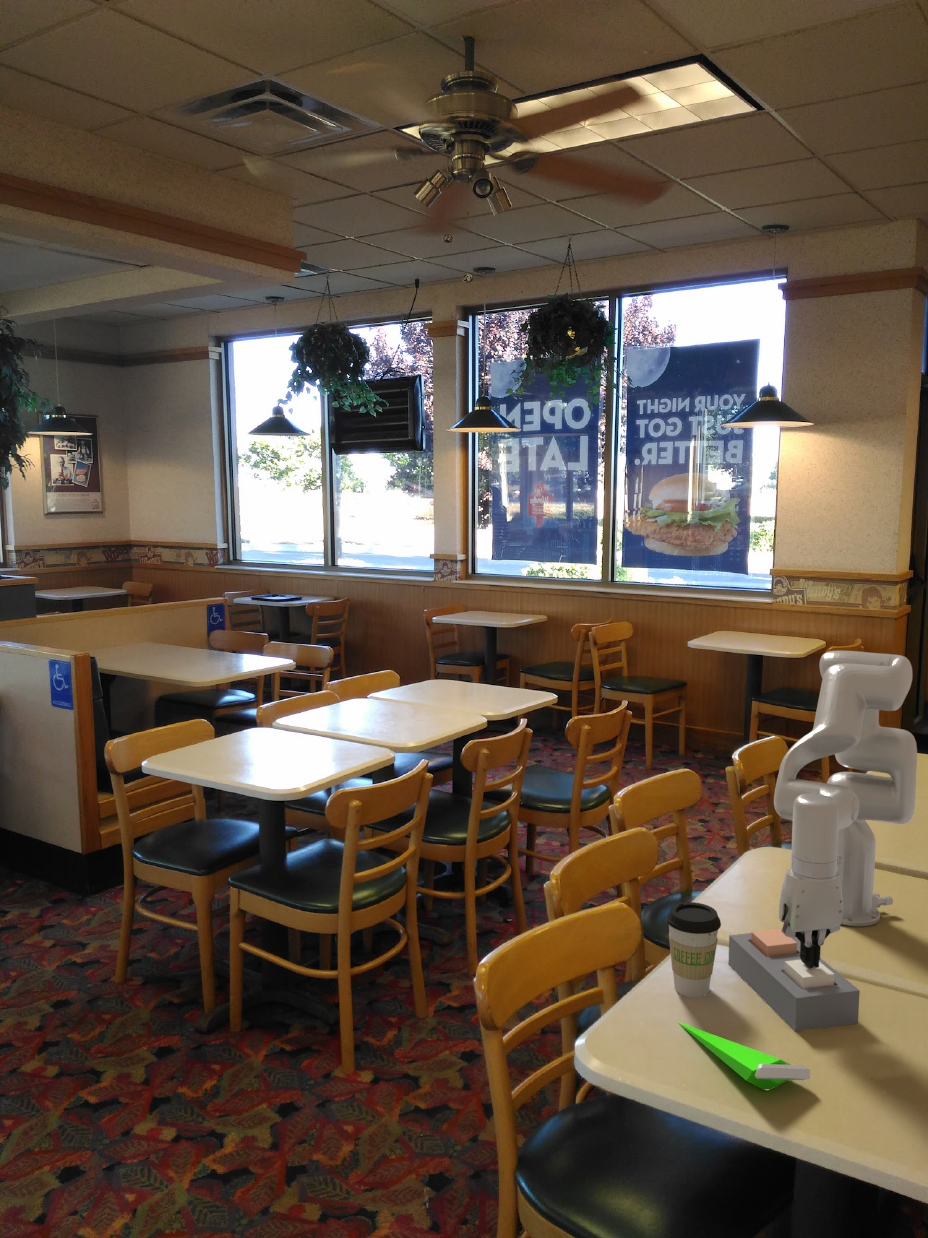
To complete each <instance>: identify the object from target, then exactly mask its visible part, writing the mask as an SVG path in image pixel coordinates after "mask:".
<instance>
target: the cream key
mask: <svg viewBox="0 0 928 1238" xmlns="http://www.w3.org/2000/svg"><path fill="white" fill-rule="evenodd" d="M784 974H786V975H787V976H788V977H789V978H790V979H791V980H792V981H793V982H794V983H795V984H796V985H798V986H799V987H800V988H801V989H808V988H816V987H825V986H833V985H834V973H833V972H831V971H830V970H829V969H828V968H827V967H825V966H824V965H823V964H822V963H821V962H819V967H818V968H815V967H813V968H809V967H808V966H806V965H805V964H804V963H803V962H802V961H801V960H792V961H785V969H784Z"/></svg>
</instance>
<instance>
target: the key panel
mask: <svg viewBox="0 0 928 1238" xmlns="http://www.w3.org/2000/svg"><path fill="white" fill-rule="evenodd" d="M728 937H729V939H728V966H729V967H730V968H731V969H732V970H733V971H734V972H735V973H736V974H737V975H738V976H739V977H740V978H741V979H742V980H743V981H744V982H745V983H746V984H748V986H749V987H750V988H751V989H752V990H753V991H754V992H755V994H757V995H758V996H759V997H760V998H761V999H762V1000H763V1001H764V1002H765V1003H766V1004H767V1005H768V1006H769V1007H770V1008H771V1009H772V1010H773V1011H774V1012H775V1013H776V1014H777V1015H778V1016H779V1017H780V1018H781V1019H782V1020H783V1021H784V1022H785V1023H786V1024H787V1025H788V1026H789V1027H790V1028H791V1029H792V1030H793V1031H794V1032H801V1031H807V1030H815V1029H817V1030H818V1029H823V1028H824V1029H825V1028H832V1027H838V1026H839V1027H840V1026H845V1025H846V1026H847V1025H853V1024H859V1014H860V1013H859V1012H860V1011H859V1010H860V989H858V988H857V987H856V986H855V985H854V984H852V983H851V982H850V981H849V980H848V979H846V978H845V977H844V976H843V975H842V974H840V973H839V972H838V971H837V970H836V969H835V968H833V967H832V966H831V965H830V964H828V963H827V962H826V961H825V960H823V959H822V958H821V957H820V960H819V962H821V963H822V964H823V965H824V966H825V967H827V968H828V969H829V970H830V971H831V972H833V973H834V985H833V986H825V987H816V988H808V989H801V988H800V987H799V986H798V985H796V984H795V983H794V982H793V981H792V980H791V979H790V978H789V977H788V976H787V975H786V974H784V969H785V961H792V960H801V959H800V941H799V940H798V939H797V938H795V937H794V938H793V937H790V938H792V939H793V940H794V941H795V942H796V943H797V953H796V954H787V955H778V956H770V957H766V956H765V955H764V954H762V953H761V952H760V951H759V950H758V949H757V948H756V947H755V946H754V945H753V944H752V943H751V932H750V933H749V932H748V933H738V934H729V936H728Z"/></svg>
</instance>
